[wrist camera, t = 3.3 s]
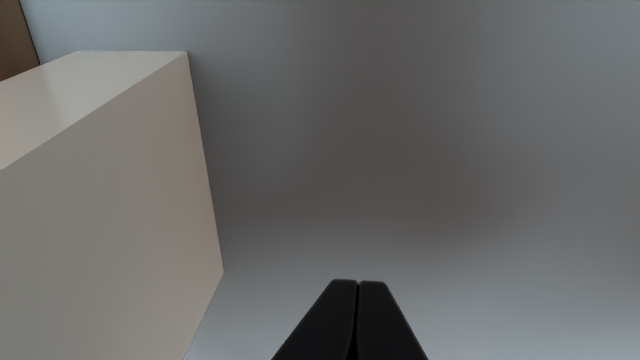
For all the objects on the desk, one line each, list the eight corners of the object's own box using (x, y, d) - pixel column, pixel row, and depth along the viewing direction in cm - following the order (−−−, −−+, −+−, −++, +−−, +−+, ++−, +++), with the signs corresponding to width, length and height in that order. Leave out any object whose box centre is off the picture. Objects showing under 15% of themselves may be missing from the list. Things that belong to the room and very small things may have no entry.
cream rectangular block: (187, 50, 10) (-338, 384, 3) (224, 272, 12) (23, 706, 6) (70, 50, 10) (-673, 348, 3) (133, 266, 13) (-165, 670, 6)
